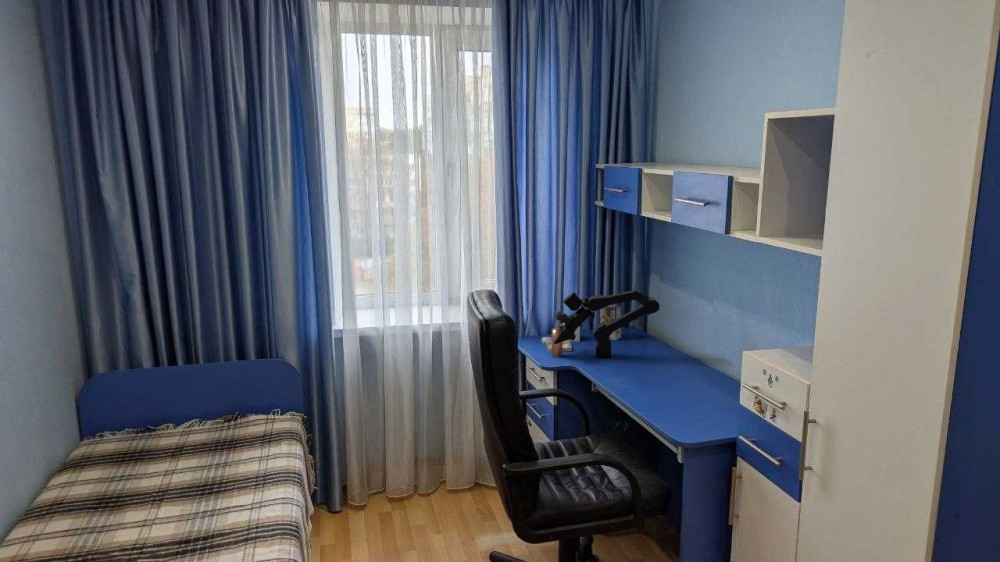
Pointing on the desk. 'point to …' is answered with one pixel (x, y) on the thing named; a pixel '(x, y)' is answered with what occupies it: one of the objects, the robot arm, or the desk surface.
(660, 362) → the desk surface
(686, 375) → the desk surface
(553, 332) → the copper cylinder
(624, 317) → the robot arm
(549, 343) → the tray
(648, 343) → the desk surface
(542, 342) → the flattened gray dome
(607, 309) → the coffee box
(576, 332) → the block
